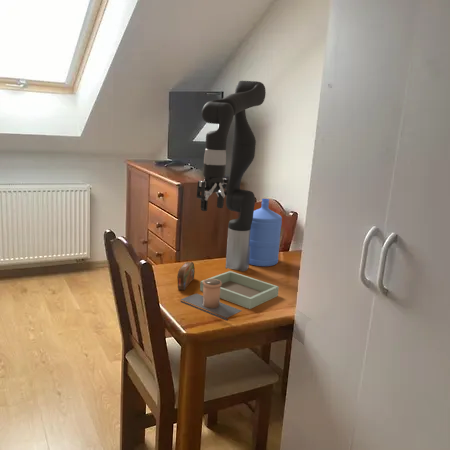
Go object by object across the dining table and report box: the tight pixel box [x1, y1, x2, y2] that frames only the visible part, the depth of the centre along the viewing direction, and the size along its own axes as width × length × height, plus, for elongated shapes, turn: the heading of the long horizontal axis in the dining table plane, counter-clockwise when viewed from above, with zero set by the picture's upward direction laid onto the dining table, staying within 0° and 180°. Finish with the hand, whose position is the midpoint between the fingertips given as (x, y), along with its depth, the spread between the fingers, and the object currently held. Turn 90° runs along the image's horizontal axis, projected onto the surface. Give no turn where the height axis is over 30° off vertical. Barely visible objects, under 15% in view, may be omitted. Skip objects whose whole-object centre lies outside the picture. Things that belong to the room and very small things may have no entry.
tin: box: [176, 261, 196, 291], centre depth 176 cm, size 15×3×8 cm, turn 168°
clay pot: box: [202, 278, 222, 308], centre depth 158 cm, size 6×6×8 cm
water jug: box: [249, 198, 283, 267], centre depth 209 cm, size 16×16×28 cm
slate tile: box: [180, 293, 243, 322], centre depth 159 cm, size 8×20×1 cm, turn 51°
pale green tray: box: [199, 270, 280, 310], centre depth 171 cm, size 17×22×4 cm
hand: (212, 209), depth 168 cm, fingers open, 8 cm apart
